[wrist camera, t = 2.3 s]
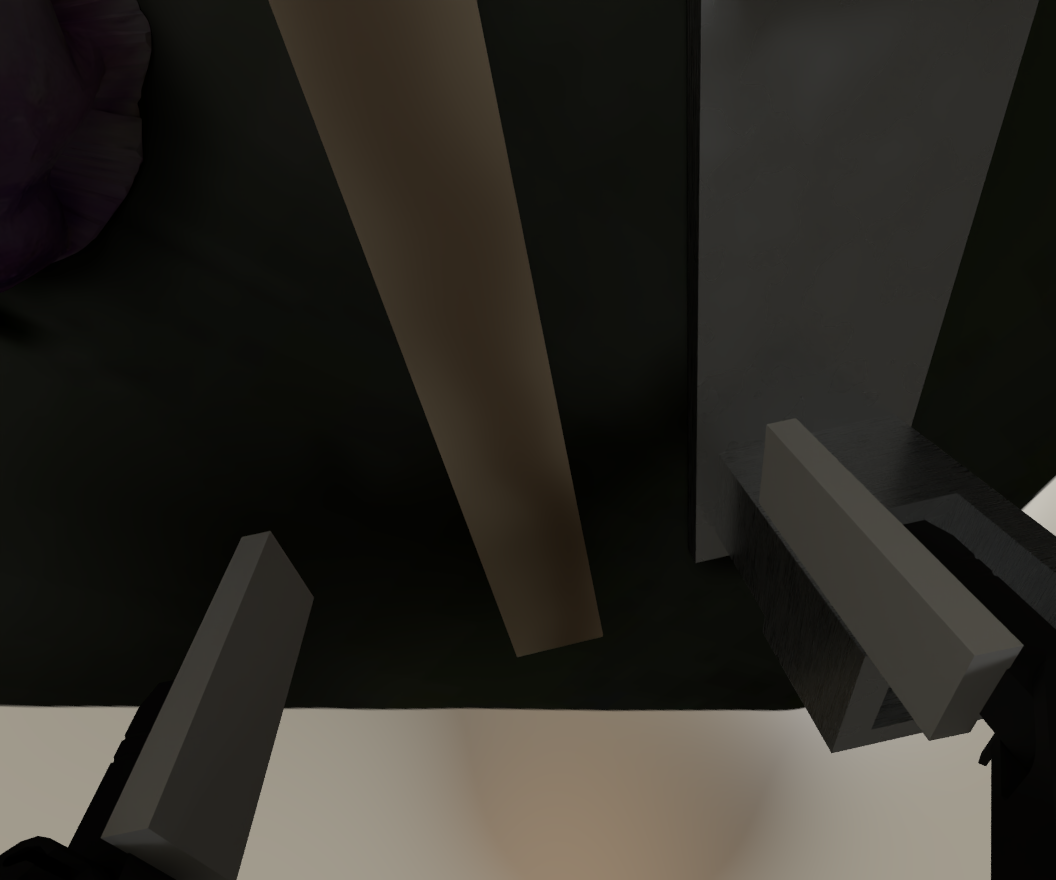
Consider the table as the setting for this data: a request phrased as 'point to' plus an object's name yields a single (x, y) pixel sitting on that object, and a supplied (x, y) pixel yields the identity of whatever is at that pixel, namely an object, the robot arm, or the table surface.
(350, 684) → the table surface
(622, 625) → the table surface
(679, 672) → the table surface
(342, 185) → the rail
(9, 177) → the figurine
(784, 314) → the bracket stand
